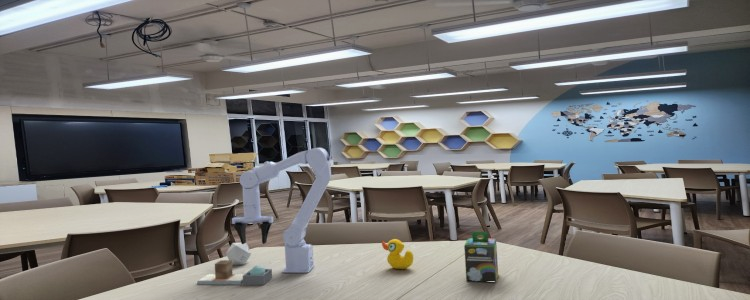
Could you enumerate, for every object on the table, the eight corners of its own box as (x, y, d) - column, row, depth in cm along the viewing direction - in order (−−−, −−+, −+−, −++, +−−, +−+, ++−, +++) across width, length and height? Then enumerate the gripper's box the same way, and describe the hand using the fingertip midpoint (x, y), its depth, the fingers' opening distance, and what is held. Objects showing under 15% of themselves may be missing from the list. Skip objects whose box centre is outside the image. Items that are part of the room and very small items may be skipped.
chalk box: (498, 274, 139) (496, 227, 139) (496, 283, 130) (494, 234, 130) (468, 272, 142) (467, 227, 142) (465, 281, 134) (463, 233, 133)
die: (237, 269, 159) (252, 246, 162) (218, 258, 160) (233, 235, 163) (244, 271, 167) (258, 249, 170) (225, 260, 168) (239, 238, 171)
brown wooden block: (232, 275, 147) (231, 260, 147) (227, 278, 143) (226, 263, 143) (221, 275, 147) (220, 260, 147) (215, 278, 143) (214, 263, 143)
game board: (250, 277, 147) (249, 273, 147) (240, 284, 140) (240, 280, 140) (208, 277, 149) (208, 274, 149) (197, 284, 142) (197, 280, 142)
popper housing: (272, 277, 146) (271, 268, 146) (264, 284, 139) (263, 275, 139) (252, 277, 147) (251, 269, 146) (243, 284, 140) (242, 275, 140)
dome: (267, 276, 145) (267, 263, 145) (262, 281, 140) (261, 268, 140) (253, 276, 145) (253, 263, 145) (247, 281, 141) (247, 268, 140)
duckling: (379, 269, 150) (378, 240, 150) (386, 264, 155) (385, 236, 155) (410, 272, 145) (408, 242, 145) (416, 267, 150) (415, 238, 149)
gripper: (227, 207, 151) (229, 246, 151) (267, 206, 149) (269, 245, 149) (236, 204, 158) (238, 241, 158) (274, 203, 156) (276, 240, 156)
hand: (254, 243), depth 154 cm, fingers open, 7 cm apart
